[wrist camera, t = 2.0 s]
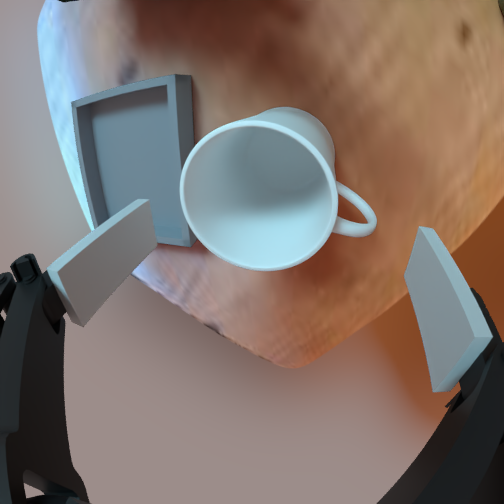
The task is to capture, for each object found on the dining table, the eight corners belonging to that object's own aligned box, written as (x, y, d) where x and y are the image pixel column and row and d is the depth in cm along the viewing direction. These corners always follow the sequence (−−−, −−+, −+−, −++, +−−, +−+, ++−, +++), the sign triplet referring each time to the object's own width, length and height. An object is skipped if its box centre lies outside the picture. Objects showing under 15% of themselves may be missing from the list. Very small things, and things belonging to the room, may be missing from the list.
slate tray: (190, 75, 21) (175, 74, 18) (202, 232, 30) (190, 247, 27) (89, 98, 23) (71, 102, 21) (110, 223, 32) (96, 234, 30)
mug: (383, 157, 21) (429, 212, 11) (334, 230, 26) (335, 321, 16) (262, 90, 20) (206, 87, 10) (225, 172, 25) (159, 230, 15)
